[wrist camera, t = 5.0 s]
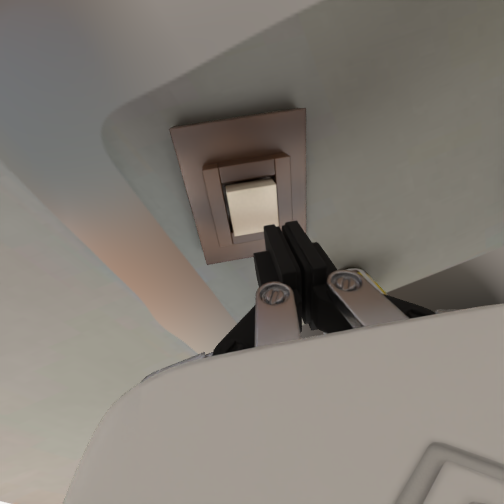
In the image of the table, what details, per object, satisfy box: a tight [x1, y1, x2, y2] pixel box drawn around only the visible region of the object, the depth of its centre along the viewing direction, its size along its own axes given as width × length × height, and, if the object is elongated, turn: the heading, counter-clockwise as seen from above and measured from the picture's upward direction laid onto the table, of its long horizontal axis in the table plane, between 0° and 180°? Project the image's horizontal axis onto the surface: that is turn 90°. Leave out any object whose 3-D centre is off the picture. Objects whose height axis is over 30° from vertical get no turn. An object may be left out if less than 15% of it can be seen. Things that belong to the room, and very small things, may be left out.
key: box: [225, 178, 279, 236], centre depth 18 cm, size 4×4×2 cm
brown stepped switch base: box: [169, 108, 306, 265], centre depth 20 cm, size 12×10×4 cm
